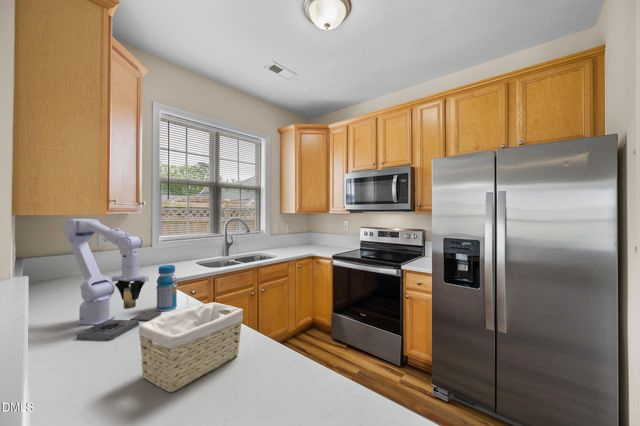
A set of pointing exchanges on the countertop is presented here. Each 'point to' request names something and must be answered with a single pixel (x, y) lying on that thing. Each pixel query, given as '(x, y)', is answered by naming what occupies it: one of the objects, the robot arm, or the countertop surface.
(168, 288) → the blue bottle
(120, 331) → the housing
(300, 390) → the countertop surface
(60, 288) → the countertop surface
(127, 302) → the cylindrical knob
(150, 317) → the mat
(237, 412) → the countertop surface
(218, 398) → the countertop surface
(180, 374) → the storage basket
